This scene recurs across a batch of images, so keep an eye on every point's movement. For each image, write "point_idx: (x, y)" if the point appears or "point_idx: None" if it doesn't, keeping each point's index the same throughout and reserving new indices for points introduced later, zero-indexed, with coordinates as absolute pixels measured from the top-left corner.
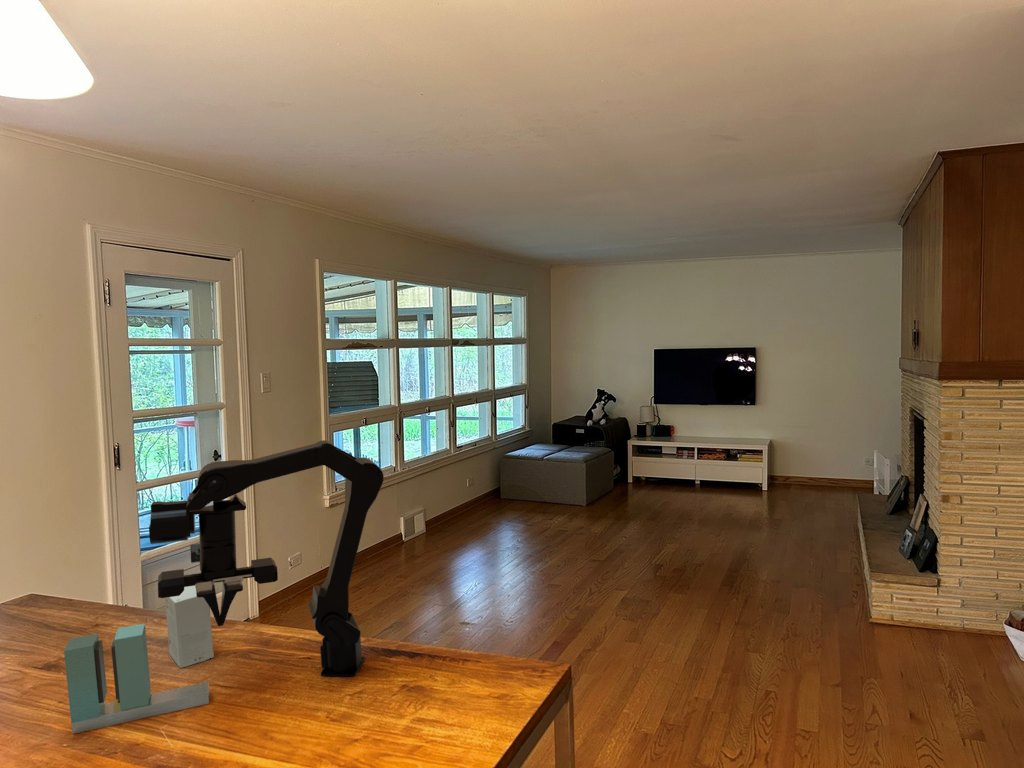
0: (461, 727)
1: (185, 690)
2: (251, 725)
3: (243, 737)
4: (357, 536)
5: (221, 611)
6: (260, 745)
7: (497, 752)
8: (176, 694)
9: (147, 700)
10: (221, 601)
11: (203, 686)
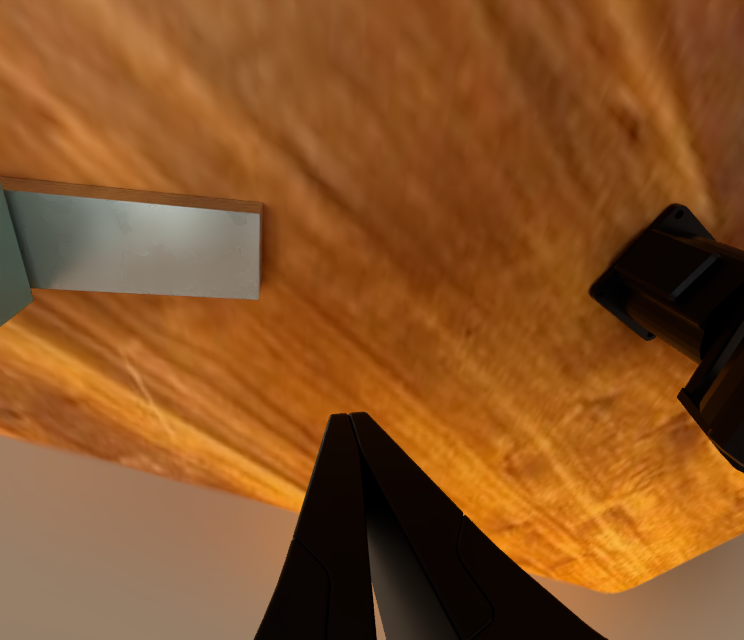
0: (641, 542)
1: (170, 241)
2: None
3: None
4: None
5: (375, 569)
6: None
7: (628, 587)
8: (136, 255)
9: (21, 309)
10: (412, 557)
11: (241, 246)
